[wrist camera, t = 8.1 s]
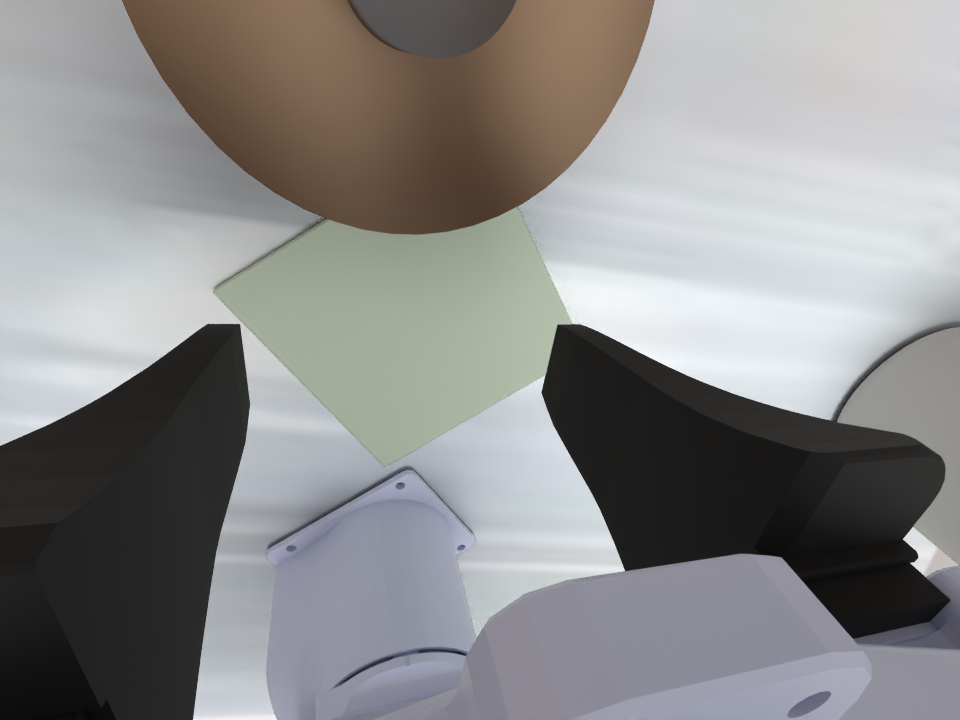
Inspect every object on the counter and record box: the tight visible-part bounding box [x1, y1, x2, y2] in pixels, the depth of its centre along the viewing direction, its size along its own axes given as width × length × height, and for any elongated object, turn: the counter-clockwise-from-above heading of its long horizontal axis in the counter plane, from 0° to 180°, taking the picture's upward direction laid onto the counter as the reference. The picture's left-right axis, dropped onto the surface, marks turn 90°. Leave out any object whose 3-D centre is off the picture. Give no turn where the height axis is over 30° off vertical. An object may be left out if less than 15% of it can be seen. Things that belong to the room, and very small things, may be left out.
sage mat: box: [213, 207, 572, 467], centre depth 23 cm, size 12×12×1 cm
